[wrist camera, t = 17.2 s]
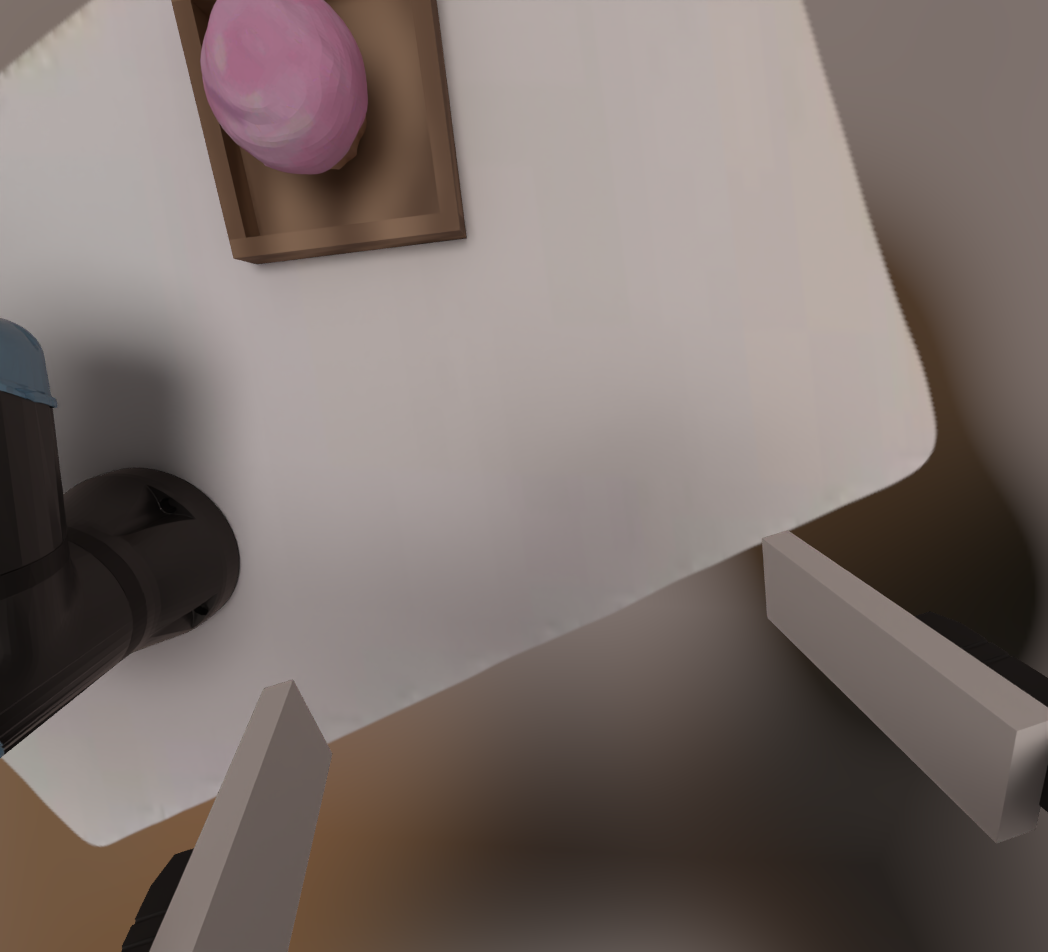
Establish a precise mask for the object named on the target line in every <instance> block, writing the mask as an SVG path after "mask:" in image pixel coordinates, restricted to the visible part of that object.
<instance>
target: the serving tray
mask: <svg viewBox="0 0 1048 952" xmlns="http://www.w3.org/2000/svg"><path fill="white" fill-rule="evenodd" d="M171 1H172V6H173V10H174V14H175V18H176V22H177V26H178V30H179V35H180V39H181V43H182V47H183V51H184V55H185V59H186V63H187V68H188V72H189V76H190V80H191V84H192V88H193V92H194V97H195V101H196V105H197V109H198V113H199V117H200V121H201V125H202V130H203V134H204V138H205V142H206V146H207V150H208V154H209V159H210V163H211V167H212V171H213V175H214V179H215V183H216V187H217V192H218V196H219V200H220V204H221V208H222V212H223V216H224V221H225V225H226V229H227V233H228V237H229V241H230V245H231V249H232V254H233V258H234V259H238V260H242V261H246V262H250V263H254V264H263V263H271V262H279V261H287V260H295V259H303V258H311V257H319V256H327V255H335V254H343V253H351V252H359V251H367V250H375V249H384V248H392V247H400V246H408V245H416V244H424V243H432V242H440V241H448V240H456V239H464V238H466V230H465V222H464V214H463V206H462V198H461V190H460V182H459V174H458V167H457V159H456V151H455V143H454V135H453V127H452V119H451V111H450V103H449V95H448V88H447V80H446V72H445V64H444V56H443V48H442V40H441V32H440V24H439V16H438V8H437V1H436V0H324V1H325V2H326V3H328V4H329V5H330V6H331V8H332V9H333V10H334V11H335V12H336V13H337V14H338V15H339V17H340V18H341V19H342V20H343V21H344V23H345V24H346V26H347V27H348V29H349V30H350V32H351V34H352V35H353V37H354V39H355V41H356V43H357V45H358V47H359V50H360V52H361V55H362V59H363V62H364V67H365V73H366V81H367V94H368V106H367V112H366V117H367V125H366V129H365V132H364V134H363V136H362V138H361V139H360V141H359V144H358V147H357V155H356V156H355V157H354V158H353V159H352V160H350V161H348V162H347V163H346V164H345V165H344V166H343V167H342V168H341V169H339V170H338V169H329V170H327V171H325V172H323V173H320V174H293V173H286V172H281V171H278V170H275V169H272V168H270V167H268V166H265V165H264V163H262V162H261V161H259V160H258V159H256V158H255V157H254V156H252V155H251V154H250V153H248V152H247V151H246V150H244V149H243V148H242V147H241V146H239V145H237V144H236V143H235V142H234V141H233V139H232V138H231V137H230V136H229V135H228V134H227V133H226V132H225V130H224V129H223V128H222V126H221V125H220V124H219V122H218V120H217V119H216V117H215V115H214V114H213V111H212V109H211V107H210V105H209V103H208V100H207V97H206V93H205V90H204V84H203V79H202V71H201V62H200V60H201V50H202V45H203V40H204V37H205V33H206V30H207V27H208V22H209V18H210V14H211V11H212V9H213V6H214V4H215V2H216V1H217V0H171Z"/></svg>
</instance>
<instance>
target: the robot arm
mask: <svg viewBox="0 0 1048 952" xmlns="http://www.w3.org/2000/svg"><path fill="white" fill-rule="evenodd" d="M53 408H57V401H56V399H55V398H54V397H52V396H51V392H50V386H49V381H48V375H47V370H46V364H45V358H44V353H43V350H42V348H41V346H40V344H39V342H38V341H37V339H36V338H35V337H34V336H33V335H32V334H31V333H30V332H29V331H27V330H26V329H24V328H23V327H21V326H19V325H18V324H16V323H14V322H11V321H8V320H5V319H2V318H0V758H1V757H2V756H3V755H5V754H6V753H7V752H8V751H9V750H11V749H12V748H13V747H14V746H16V745H17V744H18V743H19V742H21V741H22V740H23V739H24V738H26V737H27V736H28V735H29V734H31V733H32V732H33V731H34V730H36V729H37V728H38V727H39V726H41V725H42V724H43V723H44V722H46V721H47V720H48V719H49V718H50V717H52V716H53V715H54V714H55V713H57V712H58V711H59V710H60V709H62V708H63V707H64V706H65V705H67V704H68V703H69V702H70V701H72V700H73V699H74V698H75V697H77V696H78V695H79V694H80V693H82V692H83V691H84V690H85V689H87V688H88V687H89V686H90V685H91V684H93V683H94V682H95V681H96V680H98V679H99V678H100V677H101V676H103V675H104V674H105V673H106V672H108V671H109V670H110V669H111V668H113V667H114V666H115V665H116V664H117V663H119V662H120V661H121V660H123V659H124V658H125V657H127V656H128V655H129V654H131V653H133V652H135V651H138V650H141V649H143V648H146V647H149V646H152V645H154V644H157V643H160V642H163V641H165V640H168V639H171V638H174V637H176V636H179V635H182V634H184V633H187V632H189V631H191V630H193V629H194V628H196V627H198V626H199V625H201V624H202V623H204V622H205V621H206V620H207V619H208V618H210V617H211V616H212V615H213V614H214V613H215V612H217V611H218V610H219V609H220V608H221V607H222V606H223V605H224V604H225V603H226V602H227V600H228V599H229V597H230V596H231V594H232V592H233V590H234V588H235V585H236V582H237V578H238V572H239V555H238V549H237V545H236V541H235V538H234V535H233V533H232V531H231V529H230V526H229V525H228V523H227V521H226V519H225V518H224V516H223V515H222V513H221V512H220V511H219V509H218V508H217V507H216V506H215V505H214V504H213V503H212V502H211V501H210V499H209V498H207V497H206V496H205V495H204V494H203V493H202V492H200V491H199V490H198V489H196V488H195V487H194V486H192V485H191V484H189V483H187V482H186V481H184V480H182V479H180V478H178V477H175V476H173V475H170V474H168V473H165V472H161V471H157V470H153V469H146V468H126V469H119V470H115V471H112V472H109V473H106V474H102V475H99V476H96V477H93V478H90V479H88V480H85V481H84V482H82V483H80V484H78V485H76V486H74V487H73V488H71V489H70V490H69V491H67V492H66V493H65V494H64V495H63V489H62V481H61V473H60V465H59V456H58V448H57V440H56V432H55V424H54V415H53ZM762 544H763V559H764V575H765V591H766V606H767V618H768V619H769V620H771V622H772V623H773V624H774V625H775V626H776V627H777V628H779V630H781V631H782V632H783V633H784V634H785V635H786V636H787V637H788V638H789V639H790V640H791V641H792V642H793V643H794V644H795V645H796V646H797V647H798V648H799V649H800V650H801V651H802V652H803V653H804V654H805V655H806V656H807V657H808V658H809V659H810V660H811V661H812V662H813V663H814V664H815V665H816V666H817V667H818V668H819V669H820V670H821V671H822V672H823V673H824V674H825V675H826V676H827V677H828V678H829V679H830V680H831V681H832V682H833V683H834V684H835V685H836V686H837V687H838V688H839V689H840V690H841V691H842V692H843V693H845V694H846V695H847V697H849V698H850V699H851V700H852V701H853V702H854V703H855V704H856V705H857V706H858V707H859V708H860V709H861V710H862V711H863V712H864V713H865V714H866V715H867V716H868V717H869V718H870V719H871V720H872V721H873V722H874V723H875V724H876V725H877V726H878V727H879V728H880V729H881V730H882V731H883V732H884V733H885V734H886V735H887V736H888V737H889V738H890V739H891V740H892V741H893V742H894V743H895V744H896V745H897V746H898V747H899V748H900V749H901V750H902V751H903V752H904V753H905V754H907V756H908V757H909V758H910V759H911V760H912V761H913V762H914V763H916V764H917V766H918V767H920V768H921V769H922V770H923V771H924V772H925V773H926V774H927V775H928V776H929V777H930V778H931V779H932V780H933V781H934V782H935V783H936V784H937V785H938V786H939V787H940V788H941V789H942V790H943V791H944V792H945V793H946V794H947V795H948V796H949V797H950V798H951V799H952V800H953V801H954V802H955V803H956V804H957V805H958V806H959V807H960V808H961V809H962V810H963V811H964V812H965V813H966V814H967V815H968V816H969V817H970V818H971V819H972V820H973V821H974V822H975V823H976V824H977V825H978V826H979V827H980V828H981V829H983V830H984V832H985V833H987V834H988V835H989V836H990V837H991V838H992V839H993V840H994V841H995V842H996V843H999V842H1002V841H1005V840H1008V839H1010V838H1013V837H1016V836H1019V835H1022V834H1024V833H1027V832H1030V831H1033V830H1035V829H1036V825H1037V821H1038V816H1039V812H1040V807H1042V808H1043V809H1045V810H1046V811H1047V812H1048V678H1047V677H1045V676H1044V675H1042V674H1041V673H1039V672H1038V671H1036V670H1034V669H1033V668H1031V667H1030V666H1028V665H1026V664H1025V663H1023V662H1022V661H1020V660H1018V659H1017V658H1015V657H1014V656H1013V657H1010V656H1009V655H1008V653H1007V652H1006V651H1004V650H1002V649H1001V648H999V647H998V646H996V645H995V644H993V643H992V642H991V643H988V642H987V640H986V639H985V638H984V637H982V636H981V635H979V634H977V633H976V632H974V631H973V630H971V629H970V628H968V627H966V626H965V625H963V624H962V623H960V622H957V621H954V620H952V619H949V618H946V617H944V616H941V615H938V614H936V613H933V612H927V613H924V614H920V615H918V616H913V615H911V614H910V613H908V612H907V611H905V610H904V609H902V608H901V607H899V606H898V605H896V604H895V603H894V602H892V601H891V600H889V599H888V598H886V597H885V596H883V595H882V594H880V593H879V592H877V591H876V590H874V589H873V588H872V587H870V586H868V585H867V584H866V583H864V582H863V581H861V580H860V579H858V578H857V577H855V576H854V575H852V574H851V573H850V572H848V571H847V570H845V569H843V568H842V567H841V566H839V565H837V564H836V563H835V562H833V561H832V560H830V559H829V558H827V557H826V556H824V555H823V554H822V553H820V552H819V551H817V550H816V549H814V548H813V547H811V546H810V545H808V544H807V543H805V542H804V541H802V540H801V539H800V538H798V537H796V536H795V535H794V534H792V533H791V532H789V531H788V530H787V531H784V532H781V533H777V534H774V535H771V536H767V537H764V538H762ZM331 756H332V752H331V750H330V748H329V747H328V745H327V743H326V741H325V739H324V737H323V735H322V733H321V731H320V729H319V728H318V726H317V724H316V722H315V720H314V718H313V716H312V714H311V712H310V711H309V709H308V707H307V705H306V703H305V701H304V699H303V697H302V695H301V694H300V692H299V690H298V688H297V686H296V684H295V682H294V680H290V681H287V682H283V683H280V684H277V685H273V686H270V687H267V688H264V689H263V691H262V694H261V696H260V698H259V701H258V703H257V705H256V707H255V710H254V712H253V714H252V717H251V719H250V721H249V724H248V726H247V728H246V730H245V733H244V735H243V737H242V740H241V742H240V744H239V746H238V749H237V751H236V753H235V756H234V758H233V760H232V763H231V765H230V767H229V769H228V772H227V774H226V776H225V779H224V781H223V783H222V786H221V788H220V790H219V792H218V795H217V797H216V799H215V802H214V804H213V806H212V809H211V811H210V813H209V815H208V818H207V820H206V822H205V825H204V827H203V829H202V832H201V834H200V836H199V838H198V841H197V843H196V845H195V848H193V849H190V850H187V851H184V852H181V853H178V854H175V855H174V856H173V857H172V859H171V860H170V861H169V863H168V864H167V865H166V867H165V868H164V869H163V871H162V872H161V873H160V874H159V876H158V877H157V878H156V880H155V881H154V883H153V884H152V885H151V887H150V889H149V891H148V893H147V895H146V897H145V899H144V902H143V903H142V906H141V907H140V910H139V912H138V914H137V916H136V918H135V920H136V922H135V924H134V925H132V926H131V928H130V930H129V932H128V935H127V937H126V939H125V941H124V943H123V945H122V952H288V947H289V943H290V939H291V934H292V930H293V925H294V921H295V917H296V912H297V908H298V903H299V899H300V894H301V890H302V886H303V881H304V876H305V872H306V867H307V863H308V859H309V855H310V850H311V845H312V841H313V836H314V832H315V828H316V823H317V819H318V815H319V810H320V806H321V801H322V797H323V792H324V788H325V784H326V779H327V774H328V770H329V766H330V761H331Z"/></svg>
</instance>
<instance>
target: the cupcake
mask: <svg viewBox="0 0 1048 952" xmlns="http://www.w3.org/2000/svg"><path fill="white" fill-rule="evenodd" d="M200 62H201V71H202V79H203V84H204V90H205V93H206V97H207V100H208V103H209V105H210V107H211V109H212V111H213V114H214V115H215V117H216V119H217V120H218V122H219V124H220V125H221V126H222V128H223V129H224V130H225V132H226V133H227V134H228V135H229V136H230V137H231V138H232V139H233V141H234V142H235V143H236V144H237V145H239V146H241V147H242V148H243V149H244V150H246V151H247V152H248V153H250V154H251V155H252V156H254V157H255V158H256V159H258V160H259V161H261V162H262V163H264V165H265V166H268V167H270V168H272V169H275V170H278V171H281V172H286V173H293V174H320V173H323V172H325V171H327V170H329V169H338V170H339V169H341V168H342V167H343V166H344V165H345V164H346V163H347V162H348V161H350V160H352V159H353V158H354V157H355V156H356V155H357V147H358V144H359V141H360V139H361V138H362V136H363V134H364V132H365V129H366V125H367V117H366V112H367V106H368V94H367V81H366V73H365V67H364V62H363V59H362V55H361V52H360V50H359V47H358V45H357V43H356V41H355V39H354V37H353V35H352V34H351V32H350V30H349V29H348V27H347V26H346V24H345V23H344V21H343V20H342V19H341V18H340V17H339V15H338V14H337V13H336V12H335V11H334V10H333V9H332V8H331V6H330V5H329V4H328V3H326V2H325V1H324V0H217V1H216V2H215V4H214V6H213V9H212V11H211V14H210V18H209V22H208V27H207V30H206V33H205V37H204V40H203V45H202V50H201V60H200Z"/></svg>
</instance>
